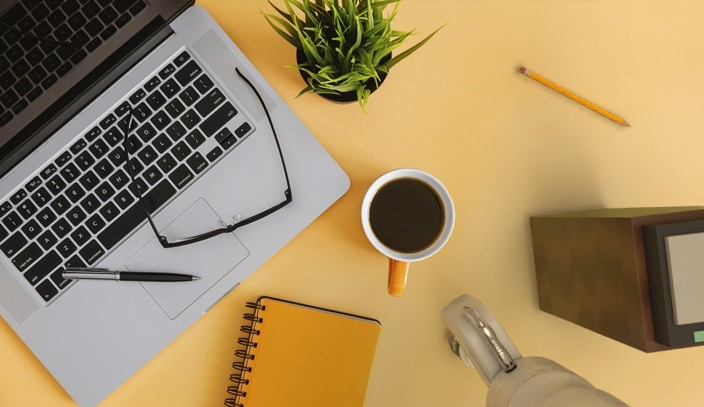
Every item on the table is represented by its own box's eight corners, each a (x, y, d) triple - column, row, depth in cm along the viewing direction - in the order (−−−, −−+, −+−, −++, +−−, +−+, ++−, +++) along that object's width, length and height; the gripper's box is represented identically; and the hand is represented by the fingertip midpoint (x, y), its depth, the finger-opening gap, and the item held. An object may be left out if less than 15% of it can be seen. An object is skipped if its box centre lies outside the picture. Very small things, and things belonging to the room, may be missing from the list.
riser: (616, 300, 83) (756, 338, 57) (539, 310, 82) (646, 353, 56) (605, 208, 83) (740, 204, 57) (529, 216, 82) (630, 217, 56)
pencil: (521, 67, 83) (522, 65, 82) (631, 124, 84) (634, 124, 83) (518, 71, 83) (520, 70, 82) (629, 129, 84) (631, 128, 83)
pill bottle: (458, 318, 81) (475, 330, 73) (485, 334, 81) (505, 347, 73) (442, 346, 81) (457, 361, 72) (469, 362, 81) (487, 379, 73)
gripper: (445, 333, 47) (414, 307, 61) (575, 527, 48) (515, 458, 62) (504, 292, 48) (460, 275, 62) (632, 484, 48) (560, 424, 62)
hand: (488, 367), depth 62 cm, fingers open, 8 cm apart
